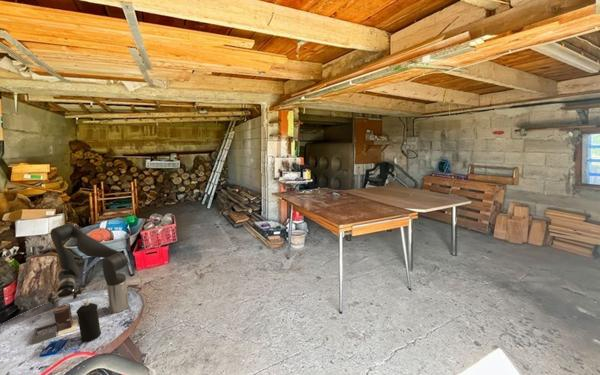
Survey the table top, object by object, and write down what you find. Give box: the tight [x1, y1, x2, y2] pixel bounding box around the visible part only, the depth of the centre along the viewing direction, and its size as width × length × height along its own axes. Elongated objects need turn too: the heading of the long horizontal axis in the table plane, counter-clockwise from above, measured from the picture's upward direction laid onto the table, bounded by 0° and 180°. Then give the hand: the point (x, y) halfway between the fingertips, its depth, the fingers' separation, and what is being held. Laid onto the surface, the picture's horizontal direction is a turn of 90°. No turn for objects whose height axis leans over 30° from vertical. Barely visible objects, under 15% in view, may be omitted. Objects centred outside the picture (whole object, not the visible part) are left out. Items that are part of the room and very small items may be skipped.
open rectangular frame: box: [30, 322, 58, 346], centre depth 136 cm, size 9×11×3 cm
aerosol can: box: [75, 299, 102, 343], centre depth 134 cm, size 8×8×20 cm
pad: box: [57, 318, 79, 337], centre depth 141 cm, size 8×10×1 cm
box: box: [53, 303, 73, 332], centre depth 140 cm, size 6×4×12 cm
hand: (64, 300), depth 147 cm, fingers open, 8 cm apart
